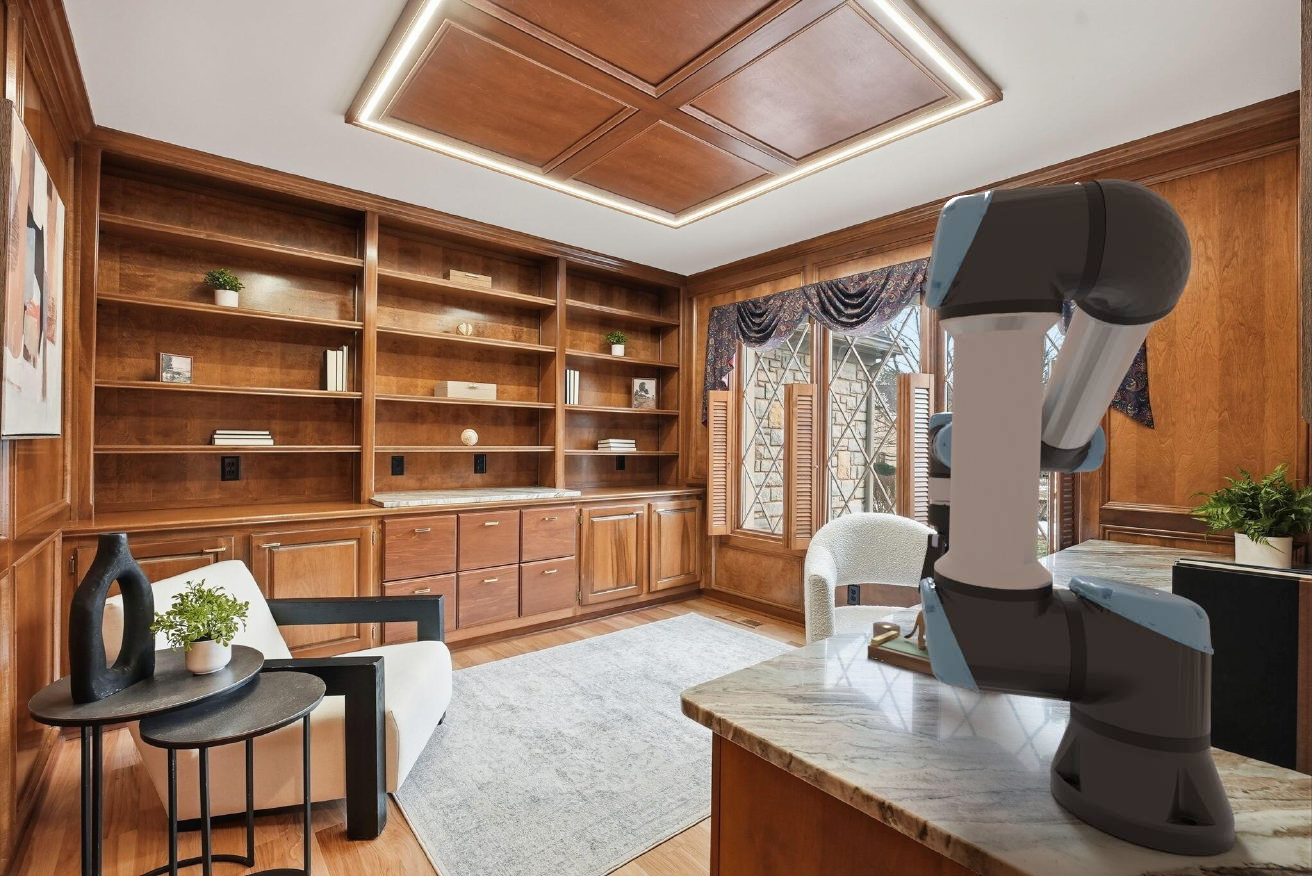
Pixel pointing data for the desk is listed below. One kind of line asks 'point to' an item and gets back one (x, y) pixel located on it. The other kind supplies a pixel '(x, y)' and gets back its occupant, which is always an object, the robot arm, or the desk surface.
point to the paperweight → (884, 628)
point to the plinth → (900, 652)
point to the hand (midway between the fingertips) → (951, 628)
